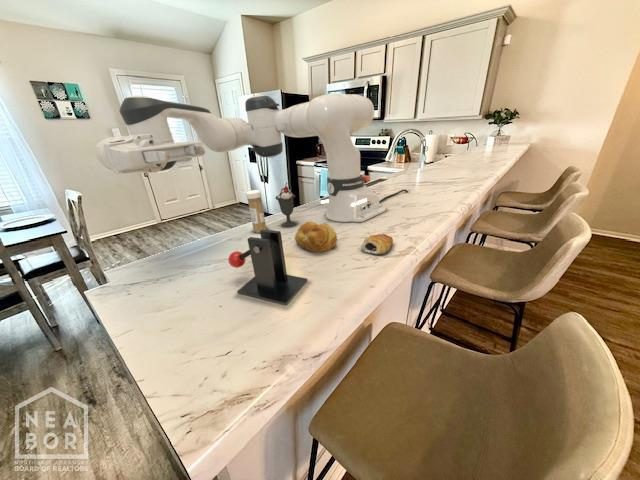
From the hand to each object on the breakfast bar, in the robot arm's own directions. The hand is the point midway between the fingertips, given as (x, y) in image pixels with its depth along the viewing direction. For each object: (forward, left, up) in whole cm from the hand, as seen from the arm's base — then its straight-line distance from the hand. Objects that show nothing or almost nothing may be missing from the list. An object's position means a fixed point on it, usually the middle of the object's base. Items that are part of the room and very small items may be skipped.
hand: (186, 152), depth 58 cm
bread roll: (-26, +9, -28) cm, 39 cm away
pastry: (-38, +21, -28) cm, 52 cm away
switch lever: (-6, +18, -21) cm, 28 cm away
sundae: (-28, -12, -28) cm, 41 cm away
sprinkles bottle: (-18, -14, -28) cm, 36 cm away
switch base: (-8, +21, -28) cm, 36 cm away
